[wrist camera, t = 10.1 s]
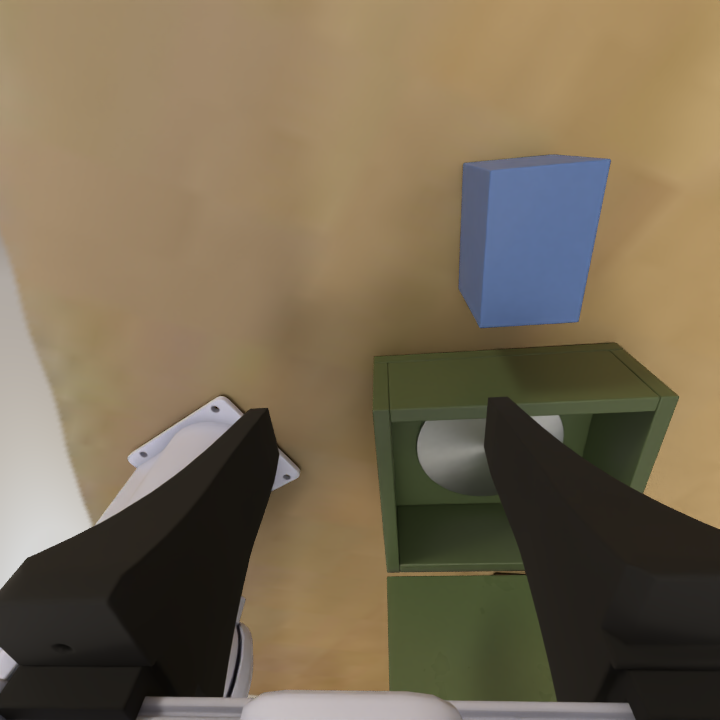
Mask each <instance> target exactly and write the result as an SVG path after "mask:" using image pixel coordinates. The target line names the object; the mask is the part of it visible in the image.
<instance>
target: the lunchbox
mask: <svg viewBox="0 0 720 720" xmlns="http://www.w3.org/2000/svg"><path fill="white" fill-rule="evenodd" d="M488 397H509V398H510V399H511V400H512V401H513V402H515V403H516V404H517V405H518V406H519V407H520V408H521V409H522V410H524V411H525V412H526V413H527V414H528V415H529V416H552V415H559V416H560V418H561V421H562V424H563V428H564V439H563V444H565V445H566V446H567V447H569V448H570V449H571V450H573V451H574V452H576V453H577V454H578V455H580V456H581V457H582V458H584V459H585V460H587V461H588V462H590V463H591V464H593V465H594V466H596V467H598V468H599V469H601V470H602V471H604V472H606V473H607V474H609V475H610V476H612V477H614V478H615V479H617V480H619V481H620V482H622V483H624V484H626V485H627V486H629V487H631V488H633V489H635V490H637V491H639V492H640V493H642V494H643V492H644V489H645V487H646V484H647V481H648V479H649V476H650V473H651V471H652V468H653V466H654V463H655V460H656V458H657V455H658V452H659V450H660V447H661V444H662V442H663V439H664V436H665V434H666V431H667V428H668V426H669V423H670V420H671V418H672V415H673V412H674V410H675V407H676V404H677V402H678V399H679V396H678V395H677V394H676V393H675V392H673V391H672V390H671V389H670V388H669V387H668V386H666V385H665V384H664V383H663V382H662V381H661V380H659V379H658V378H657V377H656V376H655V375H653V374H652V373H651V372H650V371H649V370H648V369H646V368H645V367H644V366H643V365H642V364H640V363H639V362H638V361H637V360H636V359H635V358H633V357H632V356H631V355H630V354H629V353H628V352H626V351H625V350H623V348H622V347H620V346H619V345H618V344H617V343H604V344H586V345H569V346H551V347H534V348H516V349H499V350H481V351H464V352H446V353H429V354H411V355H394V356H376V357H374V370H373V422H374V433H375V444H376V455H377V466H378V477H379V488H380V500H381V511H382V522H383V533H384V544H385V555H386V566H387V572H388V573H395V572H462V571H525V569H524V565H523V561H522V558H521V554H520V551H519V548H518V545H517V542H516V539H515V537H514V534H513V531H512V529H511V526H510V524H509V521H508V519H507V516H506V513H505V511H504V508H503V506H502V503H501V501H500V498H499V496H498V495H493V496H470V495H464V494H459V493H456V492H453V491H450V490H448V489H445V488H443V487H442V486H440V485H438V484H437V483H435V482H434V481H433V480H432V479H431V478H430V477H429V476H428V475H427V474H426V473H425V471H424V470H423V469H422V467H421V465H420V463H419V459H418V456H417V448H416V443H417V436H418V432H419V429H420V427H421V425H422V423H423V421H437V420H460V419H483V418H486V415H487V403H488Z"/></svg>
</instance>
